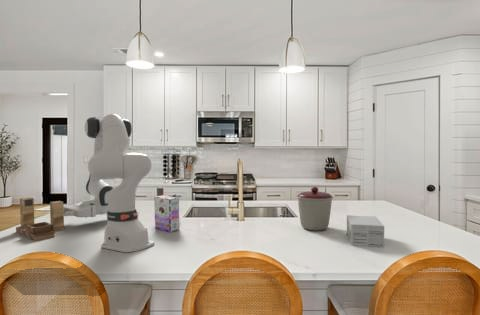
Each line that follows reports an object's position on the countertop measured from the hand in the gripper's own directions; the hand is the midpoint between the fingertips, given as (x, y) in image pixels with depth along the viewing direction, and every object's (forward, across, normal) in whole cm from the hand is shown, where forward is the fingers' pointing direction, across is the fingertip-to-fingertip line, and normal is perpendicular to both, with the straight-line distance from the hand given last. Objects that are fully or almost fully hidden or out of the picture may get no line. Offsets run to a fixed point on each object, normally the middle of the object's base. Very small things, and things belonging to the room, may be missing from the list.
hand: (60, 213), depth 159 cm
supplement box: (-73, +129, +9) cm, 148 cm away
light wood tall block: (+2, 0, +8) cm, 8 cm away
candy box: (-33, +44, +8) cm, 55 cm away
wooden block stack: (+12, +1, +8) cm, 14 cm away
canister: (-79, +103, +8) cm, 130 cm away
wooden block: (-46, +26, +8) cm, 54 cm away
